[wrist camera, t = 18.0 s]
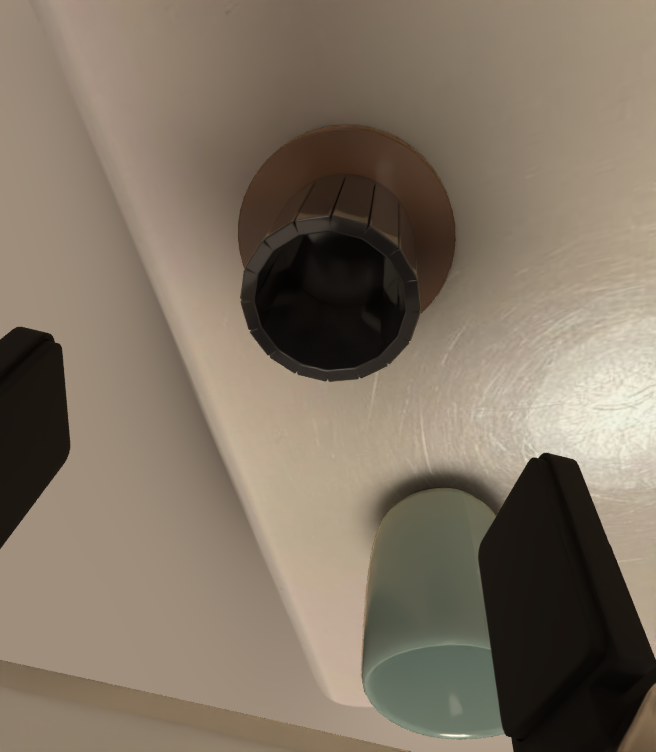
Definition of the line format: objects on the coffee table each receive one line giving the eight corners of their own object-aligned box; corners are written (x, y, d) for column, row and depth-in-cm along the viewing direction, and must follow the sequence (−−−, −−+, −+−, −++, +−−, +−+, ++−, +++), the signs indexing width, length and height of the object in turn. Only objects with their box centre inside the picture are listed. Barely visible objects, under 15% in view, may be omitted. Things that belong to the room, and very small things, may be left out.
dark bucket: (434, 193, 21) (445, 243, 16) (385, 345, 25) (382, 423, 20) (288, 156, 21) (254, 195, 16) (261, 315, 24) (227, 385, 20)
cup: (471, 446, 28) (501, 622, 20) (531, 537, 31) (580, 723, 23) (346, 495, 31) (326, 668, 23) (413, 575, 34) (417, 751, 26)
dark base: (213, 152, 22) (207, 156, 21) (440, 99, 20) (442, 102, 19) (274, 345, 26) (270, 354, 25) (463, 318, 24) (465, 326, 24)
